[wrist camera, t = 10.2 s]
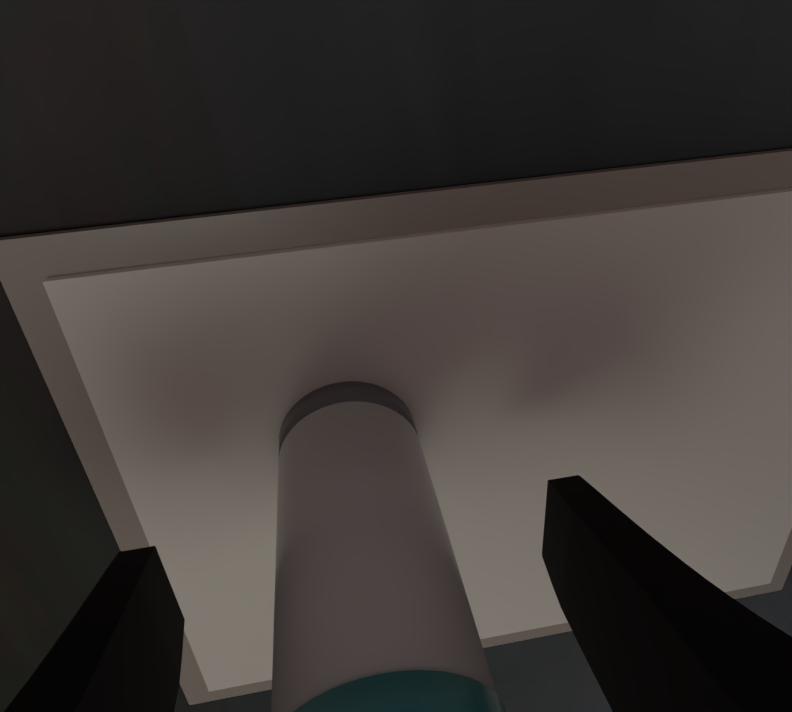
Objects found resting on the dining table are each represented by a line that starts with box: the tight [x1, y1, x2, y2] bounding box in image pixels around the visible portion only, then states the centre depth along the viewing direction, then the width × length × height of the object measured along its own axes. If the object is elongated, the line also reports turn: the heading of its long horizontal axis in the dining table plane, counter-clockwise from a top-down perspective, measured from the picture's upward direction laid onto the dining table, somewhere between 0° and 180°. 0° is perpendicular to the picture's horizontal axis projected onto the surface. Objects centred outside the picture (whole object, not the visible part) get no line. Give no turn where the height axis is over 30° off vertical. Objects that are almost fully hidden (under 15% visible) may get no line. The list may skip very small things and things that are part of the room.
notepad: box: [0, 148, 792, 705], centre depth 15 cm, size 20×15×1 cm
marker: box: [271, 381, 506, 712], centre depth 10 cm, size 3×3×8 cm
